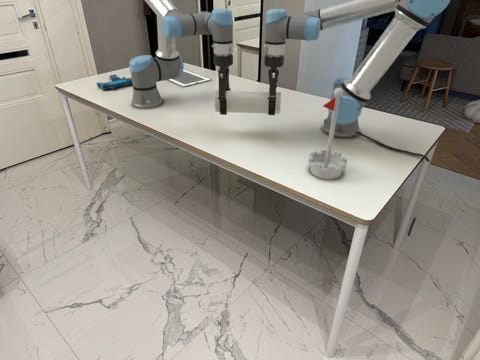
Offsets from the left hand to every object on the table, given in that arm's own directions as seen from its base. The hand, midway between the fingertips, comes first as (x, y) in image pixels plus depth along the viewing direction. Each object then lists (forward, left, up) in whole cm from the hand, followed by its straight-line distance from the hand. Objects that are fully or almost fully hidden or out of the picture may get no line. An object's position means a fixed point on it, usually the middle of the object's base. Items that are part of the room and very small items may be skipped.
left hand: (224, 110), depth 142 cm
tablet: (-77, +43, -11) cm, 88 cm away
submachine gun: (-97, +14, -11) cm, 99 cm away
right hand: (+16, +11, +1) cm, 20 cm away
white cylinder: (+8, +6, -1) cm, 10 cm away
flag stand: (+49, 0, -11) cm, 50 cm away
